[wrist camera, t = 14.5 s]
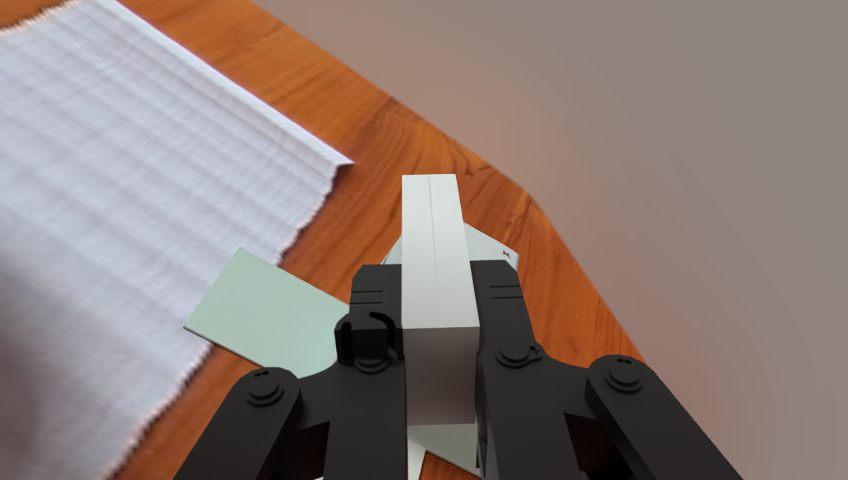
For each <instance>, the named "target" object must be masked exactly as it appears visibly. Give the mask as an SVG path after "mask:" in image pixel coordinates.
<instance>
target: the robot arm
mask: <svg viewBox="0 0 848 480" xmlns="http://www.w3.org/2000/svg"><path fill="white" fill-rule="evenodd" d="M334 336H335V344H336V352H337V361H336V362H335V363H334V364H333V365H332V366H330V367H328V368H327V369H325V370H323V371H321V372H318V373H315V374H313V375H309V376H306V377H302V378H297V377H296V376H295V375H294V374H293V373H292V372H291V371H290V370H287V369H284V368H280V367H264V368H261V369H257V370H253V371H251V372H250V373H248V374H246V375H244V376H243V377H241V378H240V379H239V380H238V381H237V382H236V383H235V384H234V385H233V387H232V388H231V390H230V391H229V393H228V394H227V396H226V397H225V399H224V401H223V402H222V404H221V405H220V407H219V408H218V410H217V411H216V413H215V415H214V416H213V418H212V419H211V421H210V422H209V424H208V425H207V427H206V429H205V430H204V432H203V433H202V435H201V436H200V438H199V439H198V441H197V443H196V444H195V446H194V447H193V449H192V450H191V452H190V453H189V455H188V456H187V458H186V460H185V461H184V463H183V464H182V466H181V467H180V469H179V470H178V472H177V474H176V475H175V477H174V478H173V480H315V479H318V478H321V477H323V480H408V437H407V426H413V425H444V424H475V422H476V418H477V426H478V431H477V452H476V468H480V475H481V480H743V479H742V478H741V476H740V475H739V474H738V473H737V472H736V470H735V469H734V468H733V467H732V465H731V464H730V463H729V462H728V461H727V459H726V458H725V457H724V456H723V455H722V454H721V452H720V451H719V450H718V449H717V447H716V446H715V445H714V444H713V442H712V441H711V440H710V439H709V438H708V437H707V435H706V434H705V433H704V432H703V430H702V429H701V428H700V427H699V426H698V424H697V423H696V422H695V421H694V420H693V418H692V417H691V416H690V415H689V413H688V412H687V411H686V410H685V409H684V407H683V406H682V405H681V404H680V403H679V401H678V400H677V399H676V398H675V396H674V395H673V394H672V393H671V392H670V390H669V389H668V388H667V387H666V386H665V384H664V383H663V382H662V381H661V380H660V379H659V377H658V376H657V375H656V373H655V372H654V371H653V370H652V369H650V368H649V367H648V366H647V365H646V364H645V363H643V362H641V361H639V360H636V359H634V358H632V357H628V356H623V355H605V356H603V357H600V358H598V359H595V361H594V362H593V363H592V364H591V365H590V366H589V369H587V368H583V367H578V366H573V365H569V364H566V363H562V362H559V361H557V360H555V359H553V358H551V357H550V356H548V355H547V354H546V352H545V351H544V349H543V347H542V346H541V345H540V344H538V343H537V342H536V340H535V337H534V334H533V330H532V326H531V322H530V319H529V315H528V311H527V308H526V304H525V300H524V299H523V293H522V289H521V288H520V282H519V278H518V274H517V271H516V270H515V269H514V268H513V267H512V266H511V265H510V264H509V263H508V262H507V261H506V260H470V261H469V256H468V250H467V244H466V238H465V231H464V225H463V219H462V213H461V207H460V200H459V194H458V188H457V182H456V176H455V174H435V175H402V264H377V265H362V267H361V268H360V269H359V270H358V272H357V273H356V274H355V275H354V277H353V281H352V289H351V297H350V306H349V313H348V314H346V315H344V316H343V317H342V318H341V319H340V320H339V321H338V322H337V324H336V326H335V329H334Z"/></svg>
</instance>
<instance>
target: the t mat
mask: <svg viewBox="0 0 848 480" xmlns="http://www.w3.org/2000/svg"><path fill="white" fill-rule="evenodd" d="M348 311H349V305H347V304H345V303H343V302H341V301H339V300H338V299H336V298H334V297H332V296H330V295H328V294H326V293H325V292H323V291H321V290H319V289H317V288H315V287H313V286H312V285H310V284H308V283H306V282H304V281H302V280H300V279H299V278H297V277H295V276H293V275H291V274H289V273H287V272H286V271H284V270H282V269H280V268H278V267H276V266H274V265H273V264H271V263H269V262H267V261H265V260H263V259H261V258H260V257H258V256H256V255H254V254H252V253H250V252H248V251H247V250H245V249H243V248H241V247H239V248H238V250H237V251H236V252H235V254H234V255H233V257H232V258H231V259H230V261H229V262H228V264H227V265H226V267H225V268H224V269H223V271H222V272H221V274H220V275H219V276H218V278H217V279H216V281H215V282H214V284H213V285H212V286H211V288H210V289H209V291H208V292H207V293H206V295H205V296H204V298H203V299H202V300H201V302H200V303H199V305H198V306H197V308H196V309H195V310H194V312H193V313H192V315H191V316H190V317H189V319H188V320H187V322H186V323H185V325H184V326H183V327H184V328H186V329H188V330H190V331H192V332H194V333H196V334H197V335H199V336H201V337H203V338H205V339H207V340H209V341H211V342H213V343H215V344H217V345H219V346H221V347H223V348H225V349H227V350H229V351H231V352H233V353H235V354H237V355H239V356H241V357H243V358H245V359H247V360H249V361H251V362H253V363H255V364H257V365H259V366H261V367H263V368H264V367H280V368H284V369H287V370H290V371H291V372H292V373H293V374H294V375H295V376H296V377H297V378H302V377H306V376H309V375H313V374H315V373H318V372H321V371H323V370H325V368H326V366H327V363H328V361H329V359H330V356H331V354H332V352H333V349H334V347H335V345H336V344H335V336H334V329H335V326H336V324H337V322H338V321H339V320H340V319H341V318H342V317H343V316H344V315H346V314H348ZM477 431H478V426H477V418H476V422H475V424H444V425H413V426H407V437H408V480H418V479H419V475H420V470H421V466H422V462H423V458H424V454H425V450H426V451H428V452H430V453H432V454H434V455H436V456H438V457H440V458H442V459H444V460H446V461H448V462H450V463H452V464H454V465H456V466H458V467H460V468H462V469H464V470H466V471H468V472H470V473H472V474H474V475H476V476H478V477H480V478H481V475H480V468H476V452H477ZM315 480H323V477H321V478H318V479H315Z"/></svg>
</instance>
